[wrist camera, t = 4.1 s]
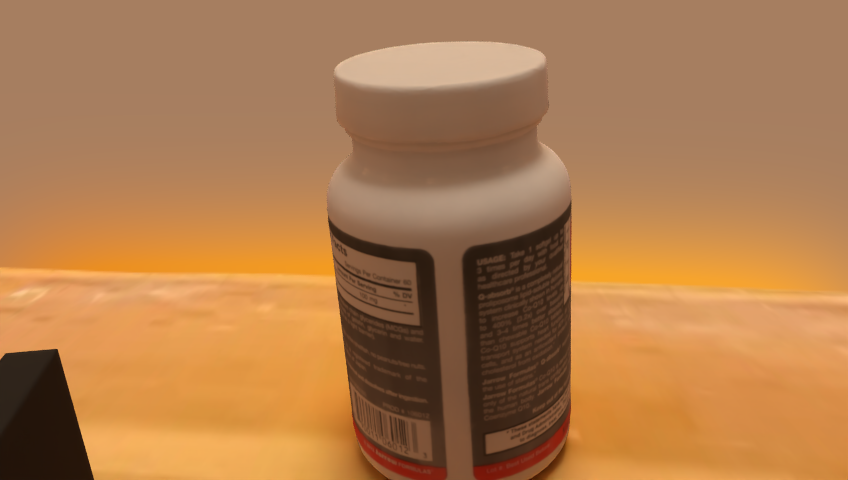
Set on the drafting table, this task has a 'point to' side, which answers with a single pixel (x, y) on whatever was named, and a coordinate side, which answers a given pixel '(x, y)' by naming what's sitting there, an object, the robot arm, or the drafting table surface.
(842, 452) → the drafting table surface
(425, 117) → the pill bottle
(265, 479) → the drafting table surface
